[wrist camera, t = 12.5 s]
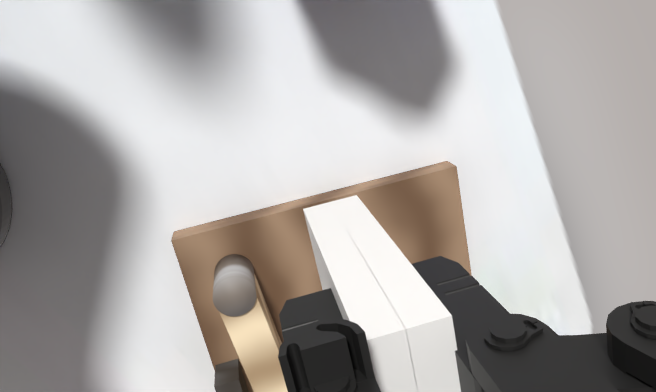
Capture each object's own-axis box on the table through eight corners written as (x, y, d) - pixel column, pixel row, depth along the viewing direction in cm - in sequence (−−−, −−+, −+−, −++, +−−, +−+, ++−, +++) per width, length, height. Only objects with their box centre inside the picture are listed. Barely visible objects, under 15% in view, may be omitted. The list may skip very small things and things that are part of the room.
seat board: (237, 423, 50) (237, 463, 45) (173, 231, 44) (167, 255, 39) (474, 351, 53) (498, 383, 48) (447, 160, 46) (471, 175, 42)
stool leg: (208, 262, 43) (206, 286, 39) (246, 248, 43) (247, 271, 39) (273, 414, 48) (277, 450, 44) (306, 402, 48) (313, 436, 44)
